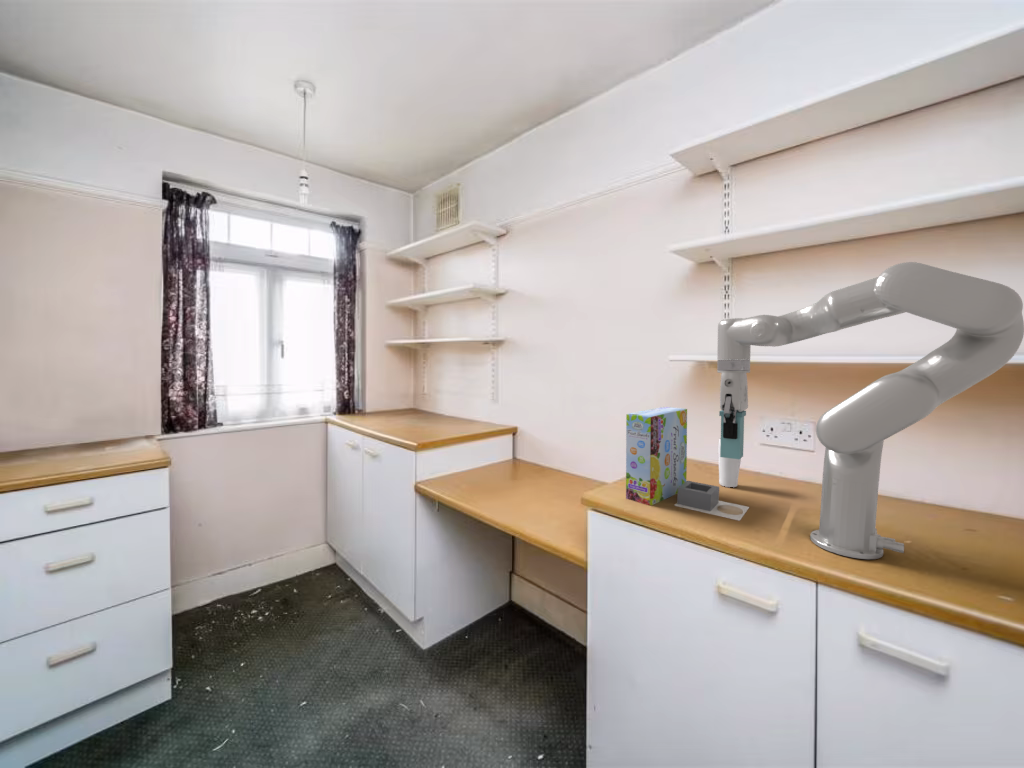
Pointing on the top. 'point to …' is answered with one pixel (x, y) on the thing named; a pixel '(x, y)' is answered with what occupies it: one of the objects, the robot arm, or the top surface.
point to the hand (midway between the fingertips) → (732, 436)
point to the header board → (707, 501)
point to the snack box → (655, 454)
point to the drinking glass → (728, 470)
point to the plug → (733, 446)
